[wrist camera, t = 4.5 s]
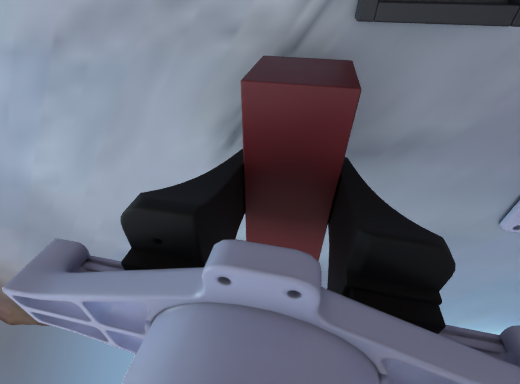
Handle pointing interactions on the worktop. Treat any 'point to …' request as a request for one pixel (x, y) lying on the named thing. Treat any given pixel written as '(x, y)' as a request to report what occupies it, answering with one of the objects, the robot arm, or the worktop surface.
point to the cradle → (441, 12)
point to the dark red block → (295, 146)
